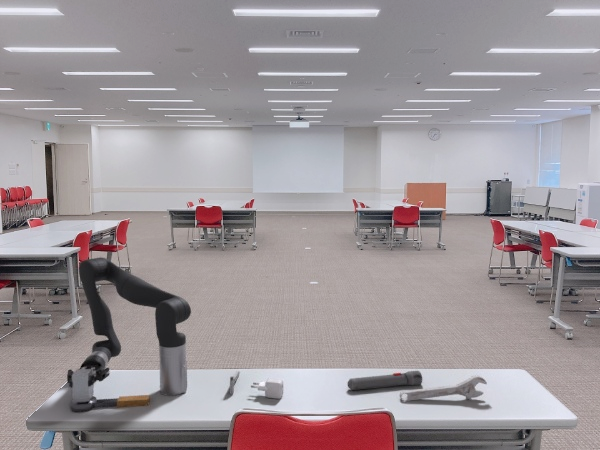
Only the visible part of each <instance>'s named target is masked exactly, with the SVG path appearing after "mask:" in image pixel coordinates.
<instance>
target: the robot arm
mask: <svg viewBox="0 0 600 450" xmlns="http://www.w3.org/2000/svg"><path fill="white" fill-rule="evenodd" d="M78 274H79V278H80V282H81V284H82V288H83V291H84V295H85V297H86V300H87V303H88V306H89V309H90V310H89V311H90V314H91V320H92V327H93V332H94V335H95V336H104V337H106V338H107V339H103V340H99V341H95V342H94V343H93V344H92V347H91V353H90V354H89V355H88V356H87V357H86V359H85V360H84V361H83V362H82V363H81V365H80V367H79V368H78V369H77V370H80V369H92V370H93V374H92V376H91V377H90V379H89V380H88V387H91V385H93V386H94V384H95V383H96V382H97V381H98V382H102V381H105V379H106V378H108V377H109V376H110V367H107V366H108V364H109V362H110V360H111V359H112V358H115V357H116V358H117V357H118V356H119V355H120V354H121V351H122V345H121V342H120V340H119V338H118V336H117V334H116V332H115V328H114V325H113V319H112V313H111V310H110V308H109V306H108V305H107V303H106V302H105V301H104V300H103V297H102V298H101V296H100V294H99V292H98V289H97V284H96V283H97V282H103V281H106V282H109V283H111V284H113V285H114V287H115V289H116V292H117V295H119V296H120V297H121V298H122V299H124V300H126V301H127V302H129V303H130V304H133V305H138V306H141V307H146V308H147V307H149V308H155V311H154V312H155V313H154V316H155V329H156V330H155V332H156V333H155V334H156V337H157V339H158V352H159V353H158V354H159V355H158V356H159V358H158V359H159V392H160V394H162V395H164V396H178V395H181V394H185V393H187V391H188V390H187V388H188V361H187V346H186V345H187V343H186V342H187V340H186V338H187V337H186V334H185V333H183V332H180V331H177V325H179V324H181V323H184V322H185V321H186V320H188V319H189V318H190V317H191V314H192V310H191V306H190V304H189V302H188V301H187V300H186V299H184V298H183V297H181V296H178V295H176V294H172V293H170V292H167V291H166V290H163V289H160V288H159V287H157V286H155V285H153V284H151V283H149V282H148V281H145V280H144V279H142V278H140V277H138V276H136V275H133V273H130V272H128V271H126V270H125V269H123V268H121V267H120V266H118V265H116V264H115V263H114V262H112V261H111V260H109V259H107V258H106V257H101V256H100V257H96V258H94V257H93V258H88V259H85V260H81V262H80V264H79V266H78ZM75 371H76V370H73V369H68V370H67V373H66V374H67V375H66V379H67V380H66V381H67V384H68V387H70V388H72V387H73V382H72V375H73V374H74V372H75Z"/></svg>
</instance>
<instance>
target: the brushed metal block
mask: <svg viewBox="0 0 600 450" xmlns="http://www.w3.org/2000/svg"><path fill="white" fill-rule="evenodd" d="M79 369H80V368H79ZM74 371H75V372H74V374H73V375H72V382H73V387H72V400H73V402H87V401H90V399H91V398H92V396H94V384H93V385H91V387H88V380H89V379H90V377H91V376H92V374H93V370H92V369H80V370H78V369H76V370H74Z"/></svg>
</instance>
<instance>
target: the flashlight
mask: <svg viewBox="0 0 600 450" xmlns="http://www.w3.org/2000/svg"><path fill="white" fill-rule="evenodd" d="M422 383H423V374H422V373H421V371H420V370H410V371H406V372H403V373H401V372H395V373H391V374H384V375H383V374H382V375H375V376H374V375H373V376H365V377H364V376H363V377H353V378H349V380H348V381H347V387H348V389H350V390H351V391H358V390H368V389H375V388H376V389H378V388H385V387H386V388H387V387H394V386H395V387H396V386H420V385H421V384H422Z"/></svg>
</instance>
